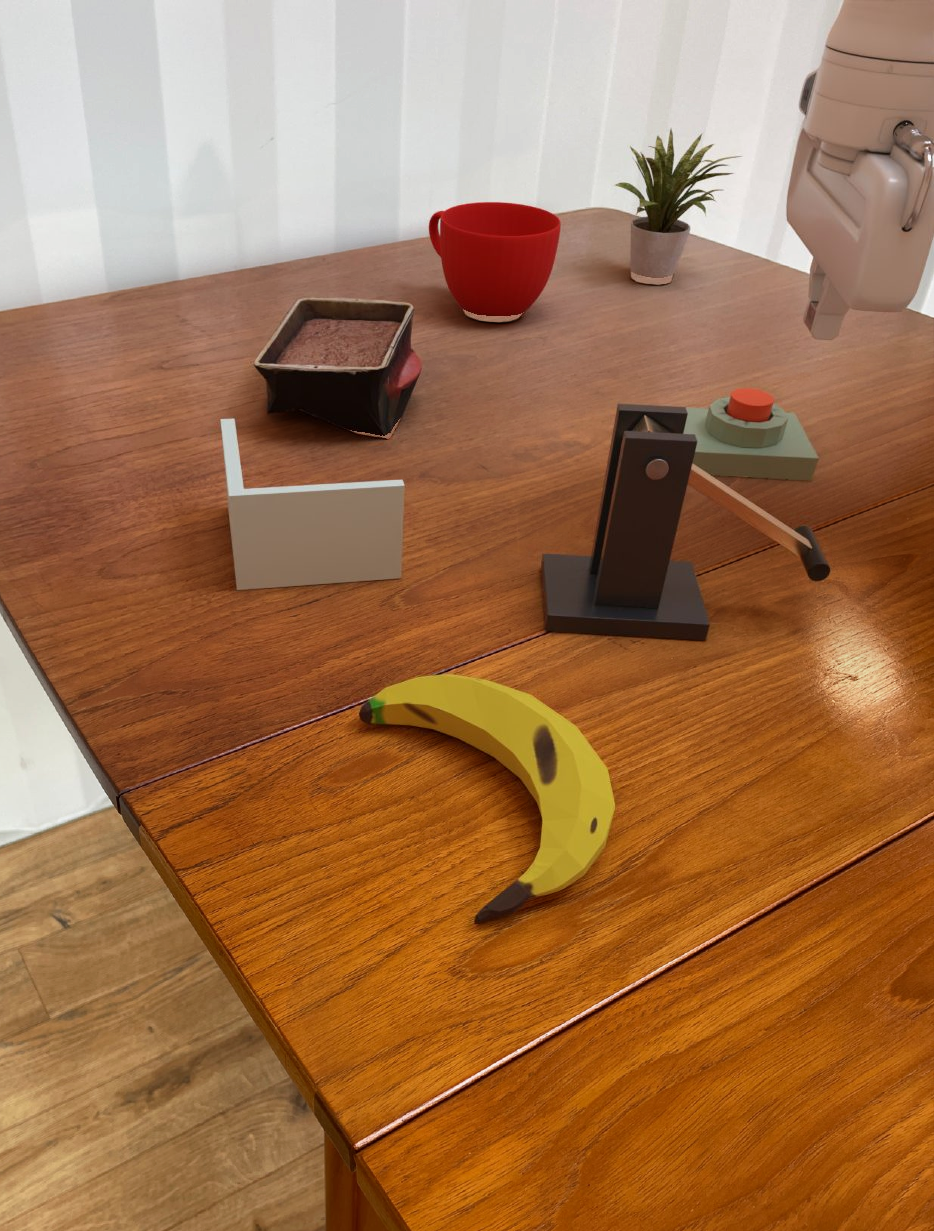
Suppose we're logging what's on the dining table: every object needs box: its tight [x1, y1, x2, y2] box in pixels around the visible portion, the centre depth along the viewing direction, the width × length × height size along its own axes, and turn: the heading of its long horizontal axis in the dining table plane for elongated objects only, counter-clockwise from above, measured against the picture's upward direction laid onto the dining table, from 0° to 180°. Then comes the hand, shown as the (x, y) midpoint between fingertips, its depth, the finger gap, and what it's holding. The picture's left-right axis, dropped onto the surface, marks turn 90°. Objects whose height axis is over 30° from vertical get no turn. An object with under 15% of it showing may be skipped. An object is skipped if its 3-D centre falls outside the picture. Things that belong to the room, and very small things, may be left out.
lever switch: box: [621, 415, 831, 582], centre depth 69 cm, size 16×5×2 cm, turn 86°
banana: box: [358, 673, 616, 926], centre depth 59 cm, size 5×17×15 cm
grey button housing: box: [683, 396, 820, 482], centre depth 92 cm, size 11×9×4 cm
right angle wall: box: [220, 418, 406, 591], centre depth 78 cm, size 12×12×8 cm
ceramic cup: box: [428, 201, 562, 316], centre depth 117 cm, size 13×17×10 cm
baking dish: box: [253, 296, 423, 436], centre depth 97 cm, size 14×18×10 cm
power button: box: [727, 387, 775, 423], centre depth 91 cm, size 4×4×2 cm
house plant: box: [613, 128, 743, 278], centre depth 123 cm, size 14×14×16 cm
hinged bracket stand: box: [539, 403, 711, 641], centre depth 71 cm, size 11×8×14 cm
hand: (818, 332), depth 73 cm, fingers closed
